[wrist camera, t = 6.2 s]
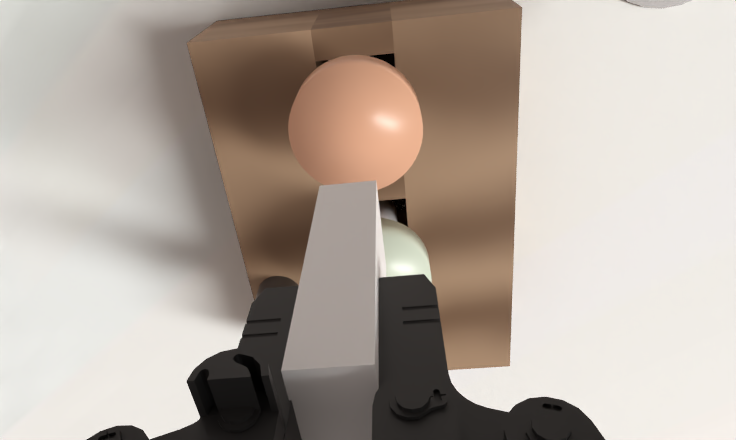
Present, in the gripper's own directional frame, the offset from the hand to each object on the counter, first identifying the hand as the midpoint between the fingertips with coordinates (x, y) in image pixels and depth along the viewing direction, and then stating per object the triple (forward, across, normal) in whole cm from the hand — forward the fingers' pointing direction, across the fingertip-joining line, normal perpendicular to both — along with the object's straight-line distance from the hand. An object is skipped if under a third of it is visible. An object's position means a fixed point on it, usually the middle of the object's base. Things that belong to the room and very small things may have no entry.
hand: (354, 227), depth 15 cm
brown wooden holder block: (+16, 0, -7) cm, 17 cm away
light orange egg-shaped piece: (+13, 0, 0) cm, 13 cm away
